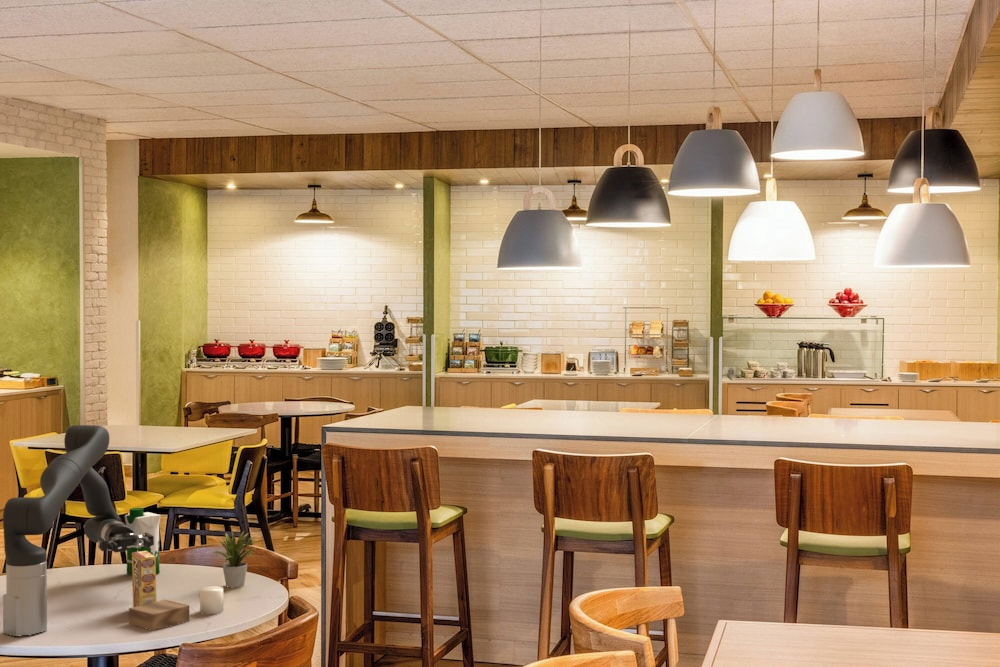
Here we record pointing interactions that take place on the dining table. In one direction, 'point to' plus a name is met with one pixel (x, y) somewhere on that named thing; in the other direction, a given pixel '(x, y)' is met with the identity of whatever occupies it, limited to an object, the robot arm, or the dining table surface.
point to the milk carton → (142, 525)
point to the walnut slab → (158, 614)
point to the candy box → (143, 578)
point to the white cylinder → (211, 600)
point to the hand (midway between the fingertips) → (132, 546)
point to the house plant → (235, 559)
